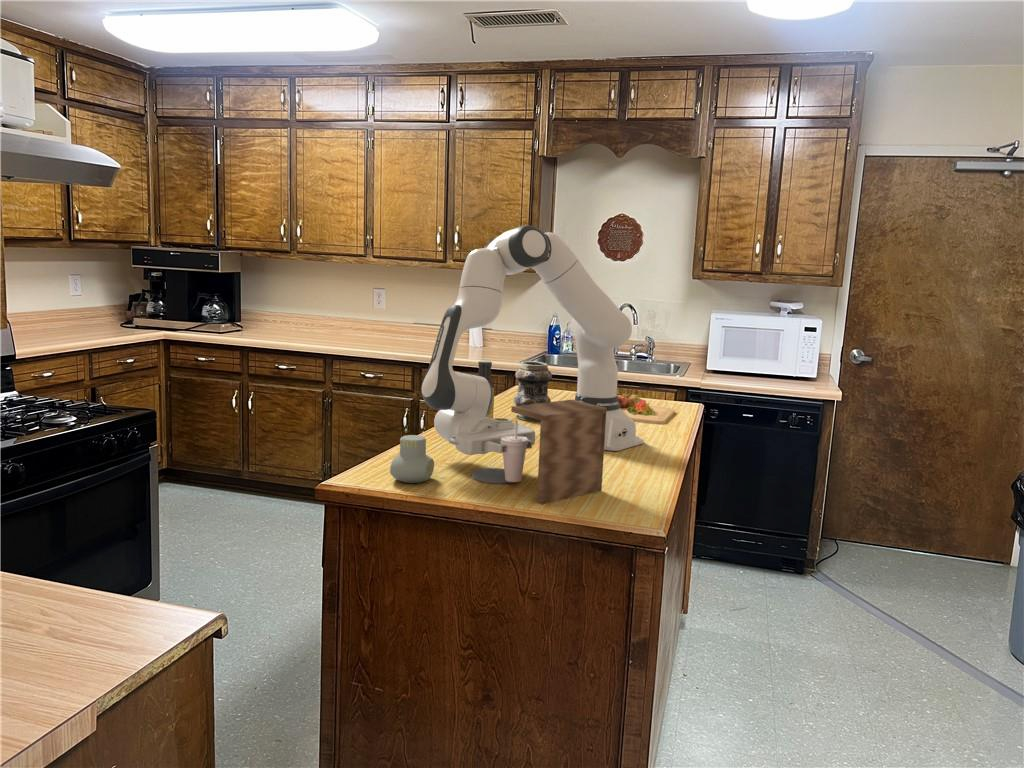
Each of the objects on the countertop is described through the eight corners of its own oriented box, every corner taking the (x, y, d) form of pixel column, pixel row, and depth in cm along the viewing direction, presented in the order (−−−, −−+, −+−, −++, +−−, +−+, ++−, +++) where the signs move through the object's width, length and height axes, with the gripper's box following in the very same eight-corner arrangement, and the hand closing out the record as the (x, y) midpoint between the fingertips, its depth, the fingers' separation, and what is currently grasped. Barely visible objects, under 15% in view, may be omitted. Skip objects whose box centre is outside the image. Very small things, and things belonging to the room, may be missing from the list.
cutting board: (675, 414, 274) (676, 392, 273) (662, 426, 252) (664, 403, 251) (578, 403, 286) (579, 382, 285) (559, 414, 265) (560, 392, 263)
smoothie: (507, 484, 177) (509, 423, 174) (494, 477, 182) (496, 418, 180) (532, 482, 179) (534, 422, 177) (519, 474, 185) (521, 416, 183)
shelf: (568, 478, 187) (572, 399, 184) (601, 490, 178) (606, 408, 175) (508, 490, 176) (511, 406, 173) (540, 504, 167) (544, 415, 164)
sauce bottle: (490, 429, 236) (492, 363, 233) (470, 427, 237) (472, 362, 234) (495, 424, 242) (497, 360, 239) (475, 422, 244) (477, 359, 240)
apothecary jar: (557, 420, 253) (560, 364, 250) (527, 423, 246) (529, 366, 243) (535, 412, 263) (538, 359, 260) (505, 415, 256) (507, 361, 253)
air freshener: (422, 488, 175) (423, 444, 173) (387, 485, 176) (387, 441, 175) (435, 475, 186) (437, 434, 184) (402, 472, 187) (403, 431, 185)
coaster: (499, 468, 194) (499, 465, 194) (528, 479, 185) (528, 476, 185) (463, 474, 187) (463, 472, 187) (490, 486, 178) (490, 483, 178)
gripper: (445, 426, 183) (480, 439, 172) (513, 417, 195) (550, 429, 185) (444, 452, 184) (479, 467, 173) (512, 442, 196) (549, 455, 186)
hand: (516, 447), depth 179 cm, fingers closed on smoothie, 6 cm apart
